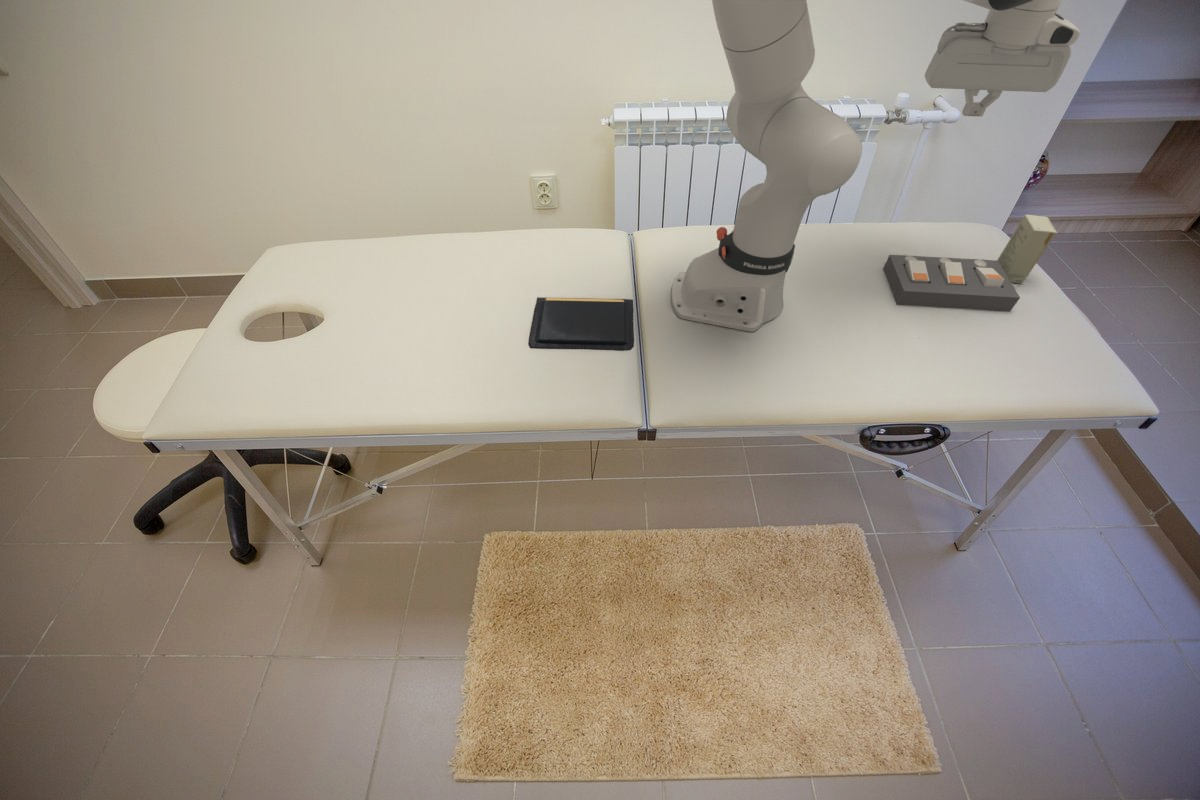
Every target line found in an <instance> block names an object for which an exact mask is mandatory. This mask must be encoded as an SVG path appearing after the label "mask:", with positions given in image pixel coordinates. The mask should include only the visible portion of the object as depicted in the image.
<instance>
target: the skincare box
mask: <svg viewBox="0 0 1200 800" xmlns="http://www.w3.org/2000/svg"><path fill="white" fill-rule="evenodd" d="M1057 233H1058V232H1057V230H1056V228H1055V226H1054V225H1053V223H1052V222H1051V220H1050V218H1049V217H1048V216H1041V215H1034V214H1025V215H1024V216H1023V218H1022V219H1021V221H1020V222H1019V224H1018V226H1017V227H1016V229H1015V231H1014V232H1013V234H1012V236H1011V237H1010V239H1009V241H1008V242H1007V244H1006V245H1005V247H1004V248H1003V250H1002V252H1001V253H1000V255H999V256H998V258H997V261H998V262H999V263H1000V265H1001V267H1002V268H1003V270H1004V272H1005V273H1006V275H1007V277H1008V278H1009V280H1010V282H1011V283H1012V284H1013V283H1014V284H1015V283H1016V284H1023V283H1024V282H1025V281H1026V279H1027V278H1028V276H1029V274H1030V273H1031V272H1032V270H1033V269H1034V267H1035V266H1036V264H1037V262H1039V259H1041V256H1043V254H1044V253H1045V251H1046V250H1047V248H1048V247H1049V245H1050V244H1051V242H1052V241H1053V240H1054V238H1055V236H1056V235H1057Z"/></svg>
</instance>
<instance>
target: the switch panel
mask: <svg viewBox="0 0 1200 800" xmlns="http://www.w3.org/2000/svg"><path fill="white" fill-rule="evenodd" d="M908 260H917V261H925V264H926V268H927V273H928V277H929V282H928V283H914V282H910V279H909V277H908V275H907V272H906V270H905V265H906V263H907V262H908ZM997 260H998V259H997ZM997 260H993V259H979V258H978V259H976V258H975V259H973V258H960V257H959V258H958V257H941V256H939V257H938V256H921V255H920V256H919V255H906V254H905V255H901V254H889V255H888V257H887V259H886V261H885V263H884V265H883V267H882V269H883V272H884V274H885V278H886V279H887V282H888V285H889V287H890V290H891V293H892V295H893V298H894V301H895V303H896V305H897V306H913V307H927V308H929V307H930V308H944V309H945V308H948V309H962V310H963V309H965V310H966V309H967V310H979V311H980V310H981V311H996V312H1011V311H1012V309H1013V308H1014V307H1015V305H1016V304H1017V303H1018V301H1019V300H1020V299H1021V297H1020V295H1019V294H1018V292H1017V290H1016V288H1015V287H1014V285H1013V282H1010V280H1009V278H1008V277H1007V275H1006V273H1005V272H1004V270H1003V268H1002V267H1001V265H1000V263H999V262H998V261H997ZM944 262H961V266H962V271H963V276H964V281H965V285H949V284H946V282H945V280H944V278H943V276H942V273H941V270H940V266H941V265H942V264H943V263H944ZM976 267H981V268H993V269H994V270H995V271H996V272H997V273H998V274H999V275H1000V276H1001V277H1002V278H1004V281H1003V283H1002V285H1001V287H984V286H983V285H982V283H981V282H980V280H979V278H978V276H977V274H976V272H975V269H976Z"/></svg>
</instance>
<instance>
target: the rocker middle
mask: <svg viewBox="0 0 1200 800" xmlns="http://www.w3.org/2000/svg"><path fill="white" fill-rule="evenodd" d="M940 270H941V273H942V276H943V278H944V280H945V282H946V284H949V285H965V281H964V276H963V271H962V266H961V262H944V263H943V264H942V265H941V266H940Z"/></svg>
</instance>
